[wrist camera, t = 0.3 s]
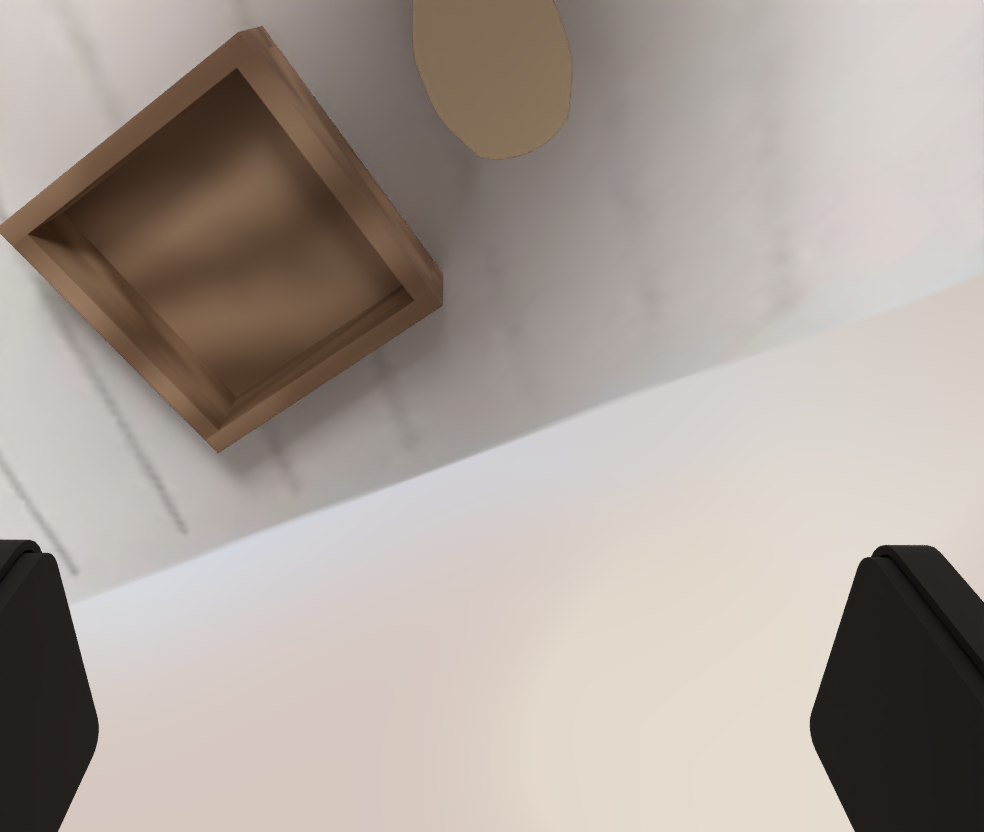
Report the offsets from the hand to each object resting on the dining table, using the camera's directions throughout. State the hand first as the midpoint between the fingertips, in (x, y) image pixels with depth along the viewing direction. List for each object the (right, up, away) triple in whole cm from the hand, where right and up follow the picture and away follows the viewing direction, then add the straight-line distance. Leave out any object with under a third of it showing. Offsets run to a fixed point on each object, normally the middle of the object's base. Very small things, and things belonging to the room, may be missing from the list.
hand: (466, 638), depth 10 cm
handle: (0, +22, +30) cm, 37 cm away
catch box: (-13, +12, +34) cm, 38 cm away
